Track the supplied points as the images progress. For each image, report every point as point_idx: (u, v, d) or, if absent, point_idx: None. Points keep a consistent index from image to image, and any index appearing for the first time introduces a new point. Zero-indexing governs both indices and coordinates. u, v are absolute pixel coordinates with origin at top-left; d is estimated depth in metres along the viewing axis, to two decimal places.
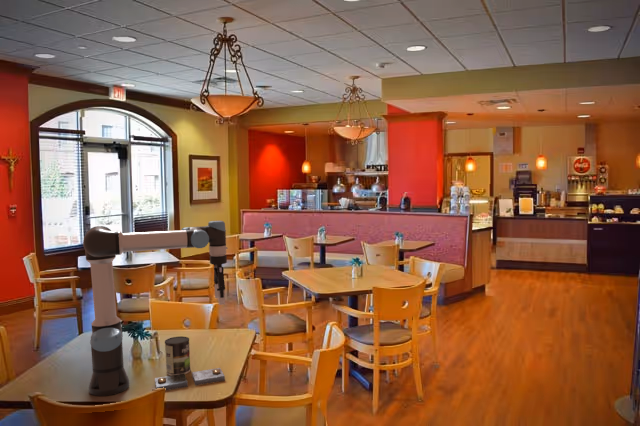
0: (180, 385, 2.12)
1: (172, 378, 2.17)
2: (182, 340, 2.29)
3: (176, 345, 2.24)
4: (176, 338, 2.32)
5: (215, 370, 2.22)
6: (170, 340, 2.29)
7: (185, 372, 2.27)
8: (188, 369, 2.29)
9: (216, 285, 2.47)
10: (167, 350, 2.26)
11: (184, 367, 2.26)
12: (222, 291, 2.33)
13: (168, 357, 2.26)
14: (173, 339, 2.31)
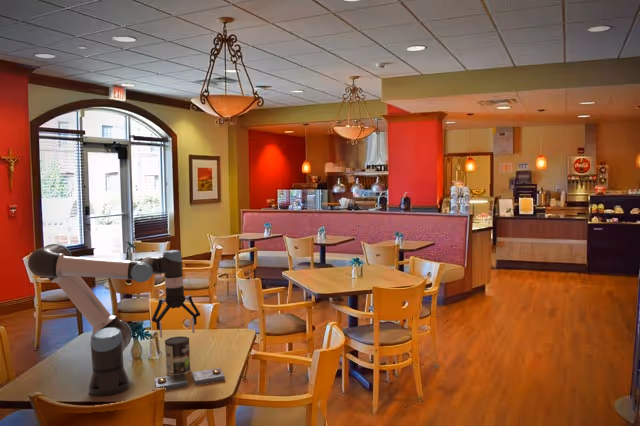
0: (180, 385, 2.12)
1: (172, 378, 2.17)
2: (182, 340, 2.29)
3: (176, 345, 2.24)
4: (176, 338, 2.32)
5: (215, 370, 2.22)
6: (170, 340, 2.29)
7: (185, 372, 2.27)
8: (188, 369, 2.29)
9: (191, 318, 2.31)
10: (167, 350, 2.26)
11: (184, 367, 2.26)
12: (156, 323, 2.25)
13: (168, 357, 2.26)
14: (173, 339, 2.31)
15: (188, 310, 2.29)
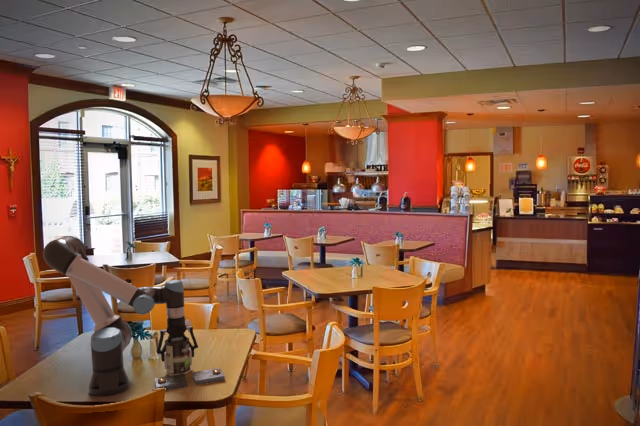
0: (180, 385, 2.12)
1: (172, 378, 2.17)
2: (182, 340, 2.29)
3: (176, 345, 2.24)
4: (176, 338, 2.32)
5: (215, 370, 2.22)
6: None
7: (185, 372, 2.27)
8: (188, 369, 2.29)
9: (189, 350, 2.32)
10: (167, 350, 2.26)
11: (184, 367, 2.26)
12: (161, 355, 2.27)
13: (168, 357, 2.26)
14: (173, 339, 2.31)
15: None
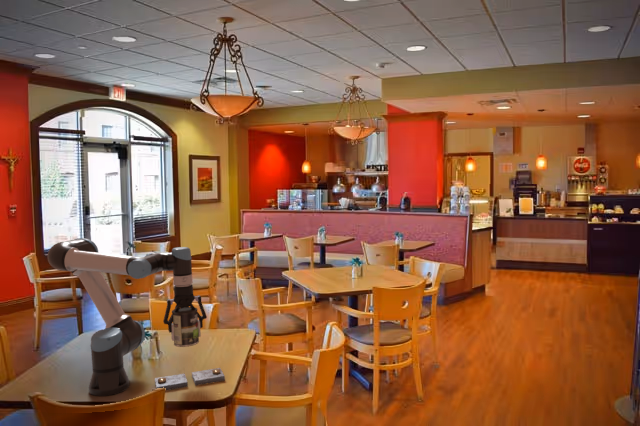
0: (180, 385, 2.12)
1: (172, 378, 2.17)
2: (190, 310, 2.18)
3: (184, 315, 2.14)
4: (183, 308, 2.21)
5: (215, 370, 2.22)
6: (178, 310, 2.18)
7: (194, 343, 2.16)
8: (197, 340, 2.18)
9: None
10: (175, 320, 2.15)
11: (192, 338, 2.16)
12: (168, 325, 2.16)
13: (176, 327, 2.15)
14: (180, 309, 2.20)
15: None
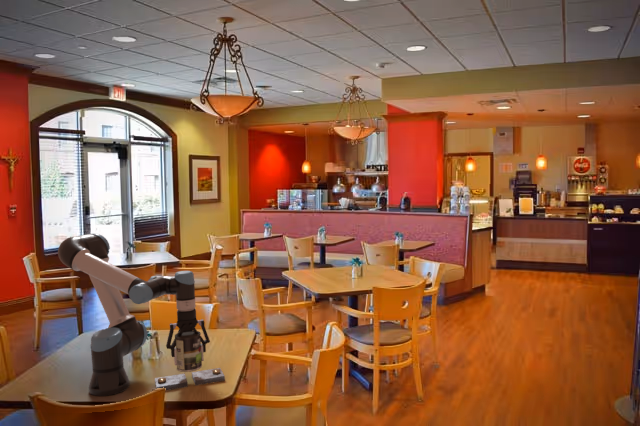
0: (180, 385, 2.12)
1: (172, 378, 2.17)
2: (193, 334, 2.16)
3: (187, 340, 2.12)
4: (186, 332, 2.19)
5: (215, 370, 2.22)
6: None
7: (196, 368, 2.15)
8: (199, 365, 2.16)
9: None
10: (177, 345, 2.13)
11: (195, 363, 2.14)
12: (171, 350, 2.14)
13: (178, 352, 2.13)
14: (183, 333, 2.18)
15: None
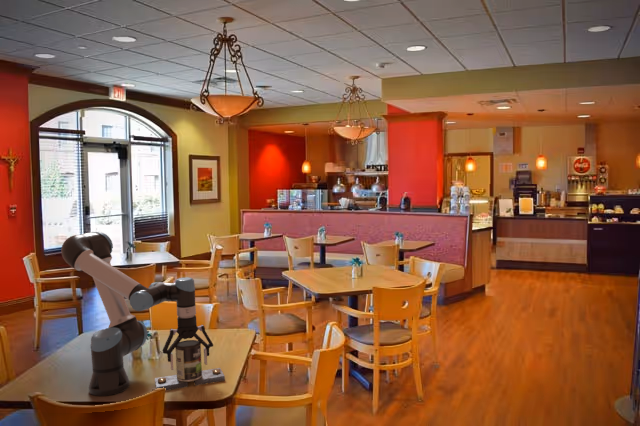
0: (180, 385, 2.12)
1: (172, 378, 2.17)
2: (193, 344, 2.17)
3: (187, 350, 2.12)
4: (186, 342, 2.20)
5: (215, 370, 2.22)
6: (181, 344, 2.17)
7: (197, 378, 2.15)
8: (200, 375, 2.17)
9: (204, 349, 2.20)
10: (178, 355, 2.14)
11: (195, 372, 2.14)
12: (167, 355, 2.14)
13: (179, 362, 2.14)
14: (184, 343, 2.19)
15: (201, 341, 2.18)
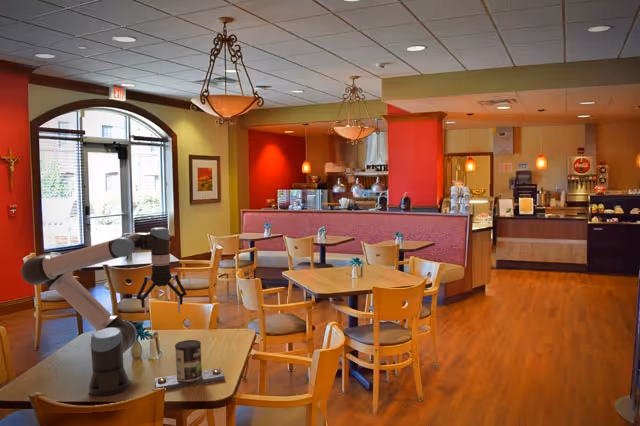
0: (180, 385, 2.12)
1: (172, 378, 2.17)
2: (193, 344, 2.17)
3: (187, 350, 2.12)
4: (186, 342, 2.20)
5: (215, 370, 2.22)
6: (181, 344, 2.17)
7: (197, 378, 2.15)
8: (200, 375, 2.17)
9: None
10: (178, 355, 2.14)
11: (195, 372, 2.14)
12: (141, 301, 2.22)
13: (179, 362, 2.14)
14: (184, 343, 2.19)
15: (174, 289, 2.25)
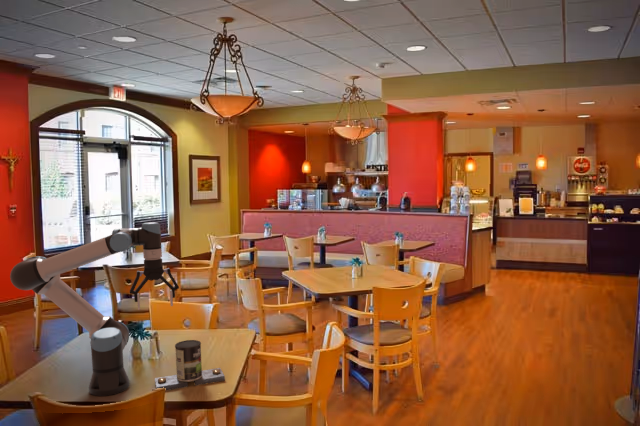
0: (180, 385, 2.12)
1: (172, 378, 2.17)
2: (193, 344, 2.17)
3: (187, 350, 2.12)
4: (186, 342, 2.20)
5: (215, 370, 2.22)
6: (181, 344, 2.17)
7: (197, 378, 2.15)
8: (200, 375, 2.17)
9: (170, 291, 2.30)
10: (178, 355, 2.14)
11: (195, 372, 2.14)
12: (134, 295, 2.24)
13: (179, 362, 2.14)
14: (184, 343, 2.19)
15: (166, 283, 2.28)
